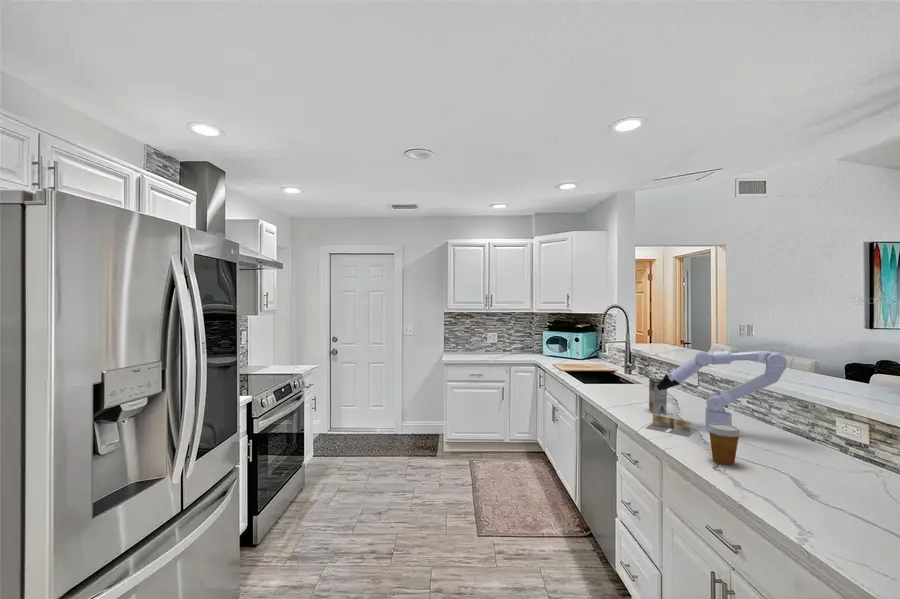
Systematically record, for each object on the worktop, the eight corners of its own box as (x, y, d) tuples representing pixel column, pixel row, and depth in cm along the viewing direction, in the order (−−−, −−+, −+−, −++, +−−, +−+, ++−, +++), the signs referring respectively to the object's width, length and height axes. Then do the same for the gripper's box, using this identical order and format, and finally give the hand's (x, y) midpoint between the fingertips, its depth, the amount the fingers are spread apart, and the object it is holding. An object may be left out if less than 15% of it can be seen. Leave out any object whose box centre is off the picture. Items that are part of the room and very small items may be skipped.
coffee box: (648, 409, 220) (648, 378, 220) (661, 410, 218) (662, 379, 218) (653, 414, 211) (653, 381, 211) (667, 415, 209) (667, 382, 209)
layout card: (697, 430, 184) (697, 429, 184) (688, 438, 173) (688, 436, 173) (655, 422, 195) (655, 421, 195) (644, 429, 184) (644, 428, 184)
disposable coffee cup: (737, 459, 150) (737, 425, 150) (742, 468, 141) (743, 432, 141) (705, 455, 154) (706, 421, 154) (709, 463, 145) (709, 428, 145)
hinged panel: (674, 427, 184) (674, 417, 184) (673, 428, 183) (673, 418, 183) (653, 423, 190) (653, 414, 190) (652, 424, 189) (652, 414, 189)
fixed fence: (690, 431, 180) (690, 421, 180) (689, 432, 179) (689, 422, 179) (675, 428, 184) (675, 418, 184) (674, 429, 183) (674, 419, 183)
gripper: (682, 363, 198) (658, 380, 203) (675, 363, 187) (649, 381, 192) (693, 376, 194) (668, 393, 200) (687, 376, 183) (660, 394, 189)
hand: (660, 388), depth 196 cm, fingers open, 7 cm apart
